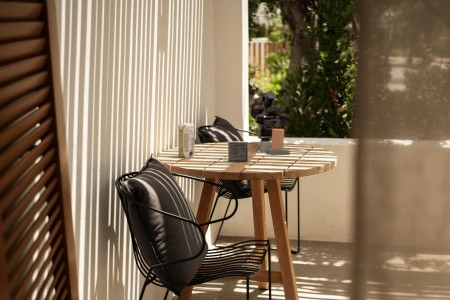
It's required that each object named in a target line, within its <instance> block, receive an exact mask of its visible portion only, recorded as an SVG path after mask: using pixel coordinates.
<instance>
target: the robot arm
mask: <svg viewBox="0 0 450 300" xmlns="http://www.w3.org/2000/svg"><path fill="white" fill-rule="evenodd" d="M267 91H268V92H261V93H260V94H259V96H258V97H257V98H254V100H253V102H252V104H251V105H250V107H249V116H250V117H251V118H252V119H253V120H255V123H256V124H257V125H258V127H259V131H258V132H257V133H258V134H257V138H258V139H260V142H261V141H269V142H271V139H272V129H274V128H273V126H272V124H271V123H267V122H266V121H278V126H279V129H283V124H285V123H286V122H287V119H288V115H287V114H286V113H280V114H279V116H277V114H278V113H277V112H280V111H281V105H274V104H275V100H276V97H277V94H276V93H275V92H273V91H272V90H267ZM256 106H261V107H256Z"/></svg>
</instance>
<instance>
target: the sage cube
mask: <svg viewBox="0 0 450 300" xmlns="http://www.w3.org/2000/svg"><path fill="white" fill-rule="evenodd" d="M258 149H259V150H258V151H259V152H260V153H266V149H272V141H270V142H269V141H261V140H260V141H259V142H258Z"/></svg>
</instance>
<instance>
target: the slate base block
mask: <svg viewBox="0 0 450 300" xmlns="http://www.w3.org/2000/svg"><path fill="white" fill-rule="evenodd" d="M265 153H266V154H268V155H269V156H288V155H289V156H290V155H291V149H290V150H289V149H286V148H284V147H283V150H272V149H266V152H265Z"/></svg>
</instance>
